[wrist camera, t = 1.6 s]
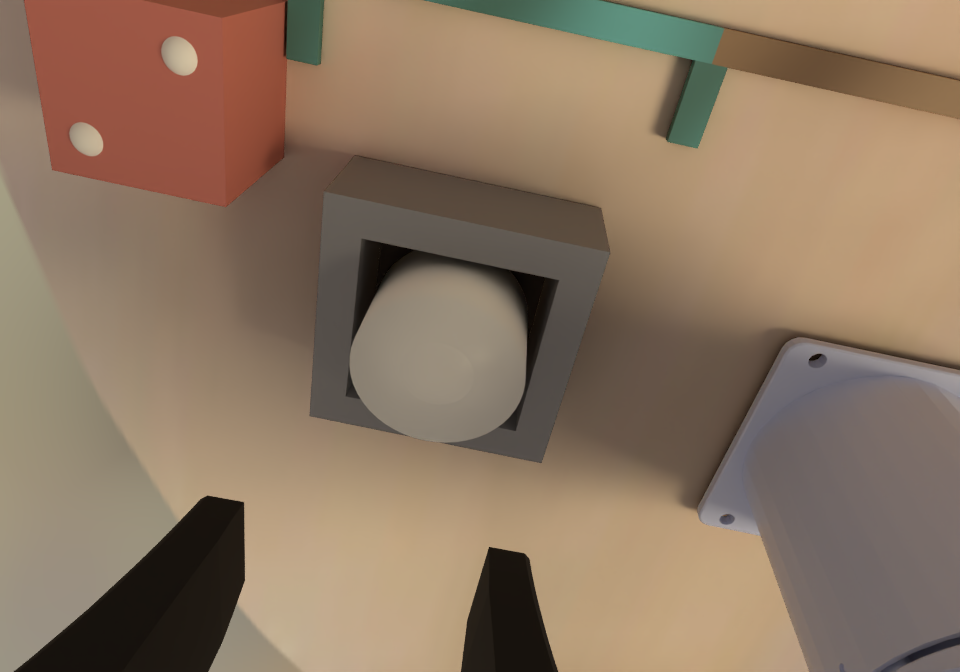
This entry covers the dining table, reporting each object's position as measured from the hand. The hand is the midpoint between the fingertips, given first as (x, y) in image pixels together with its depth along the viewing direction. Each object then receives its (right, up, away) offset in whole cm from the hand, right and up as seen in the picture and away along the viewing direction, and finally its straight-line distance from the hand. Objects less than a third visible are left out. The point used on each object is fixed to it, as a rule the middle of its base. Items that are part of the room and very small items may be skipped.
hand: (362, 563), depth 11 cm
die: (-5, +11, +6) cm, 14 cm away
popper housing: (+1, +5, +9) cm, 10 cm away
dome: (+1, +4, +8) cm, 9 cm away
